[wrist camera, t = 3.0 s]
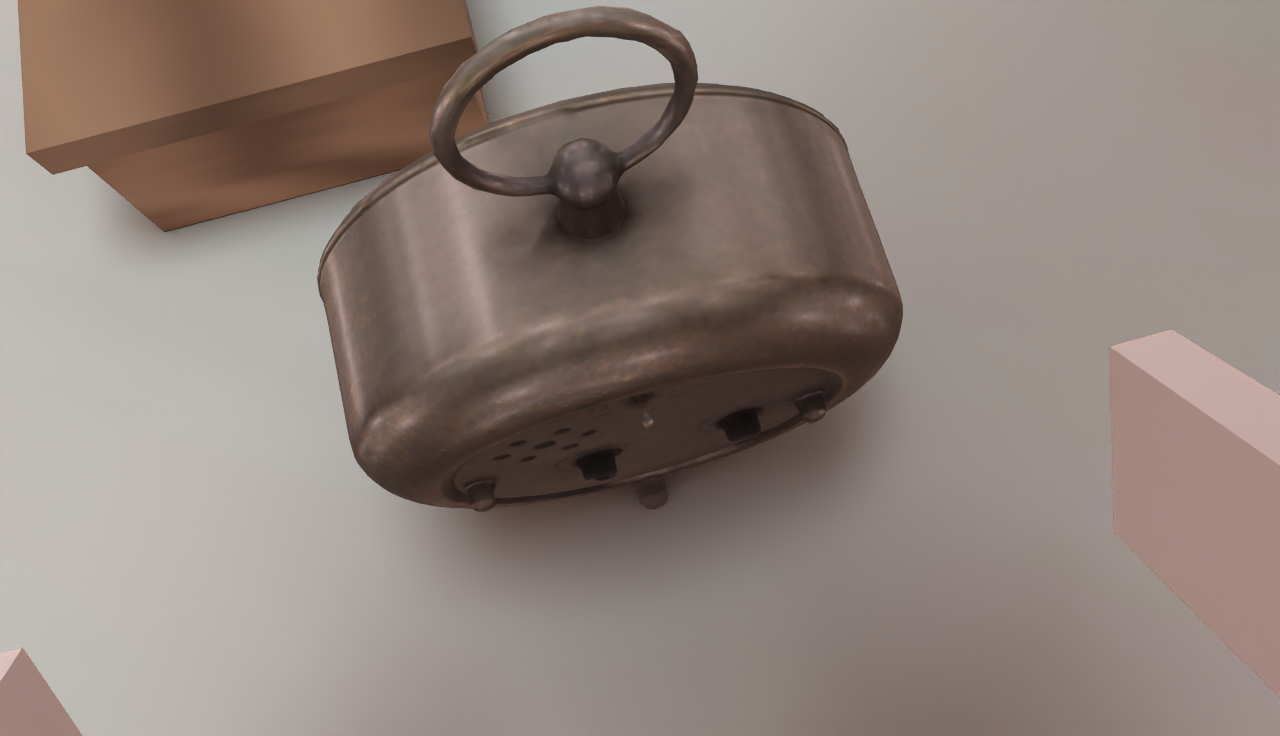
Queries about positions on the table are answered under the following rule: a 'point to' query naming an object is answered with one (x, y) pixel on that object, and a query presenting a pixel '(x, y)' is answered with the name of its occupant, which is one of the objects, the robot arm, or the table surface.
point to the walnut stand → (236, 95)
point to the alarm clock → (602, 284)
